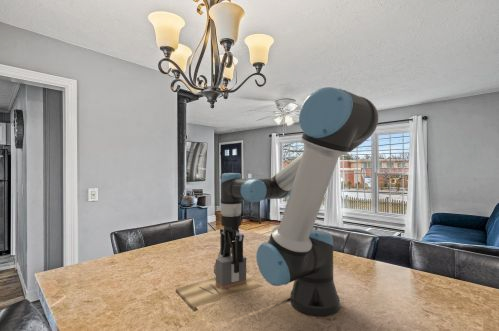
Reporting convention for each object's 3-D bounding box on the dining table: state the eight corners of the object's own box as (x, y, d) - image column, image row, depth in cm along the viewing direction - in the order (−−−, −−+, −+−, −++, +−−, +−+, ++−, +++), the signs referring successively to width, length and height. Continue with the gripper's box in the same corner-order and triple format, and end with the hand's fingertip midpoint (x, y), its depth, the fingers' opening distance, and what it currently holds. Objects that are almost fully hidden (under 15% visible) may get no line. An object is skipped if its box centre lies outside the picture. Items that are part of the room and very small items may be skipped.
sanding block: (239, 277, 100) (239, 254, 101) (246, 282, 96) (246, 257, 97) (215, 284, 95) (215, 259, 95) (222, 289, 91) (222, 263, 91)
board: (262, 288, 93) (262, 285, 93) (194, 310, 78) (194, 307, 78) (238, 274, 107) (238, 271, 107) (175, 291, 92) (175, 288, 92)
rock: (223, 278, 102) (226, 251, 104) (204, 275, 104) (206, 249, 106) (235, 271, 117) (237, 247, 118) (218, 268, 119) (220, 246, 121)
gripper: (253, 217, 91) (253, 284, 90) (228, 210, 106) (227, 268, 105) (235, 219, 87) (235, 290, 86) (211, 212, 101) (210, 272, 101)
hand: (231, 278), depth 96 cm, fingers closed on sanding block, 5 cm apart
